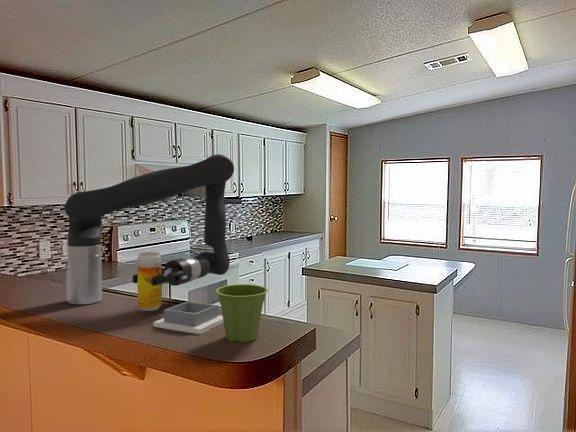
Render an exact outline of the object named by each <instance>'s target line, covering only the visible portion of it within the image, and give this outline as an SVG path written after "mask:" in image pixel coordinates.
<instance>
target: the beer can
mask: <svg viewBox="0 0 576 432" xmlns="http://www.w3.org/2000/svg"><path fill="white" fill-rule="evenodd" d="M161 267H162V255H161V253H160V252H157V251H145V252H144V251H143V252H139V253H138V255H137V274H138V283H137V308H138V309H139V310H140V311H145V312H147V311H155V310H158V309H159V308H160V307H161V305H162V284H159V285H156V286H152V285H151V279H152V277H156V276H160V275H161Z"/></svg>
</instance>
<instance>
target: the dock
mask: <svg viewBox="0 0 576 432" xmlns="http://www.w3.org/2000/svg"><path fill="white" fill-rule="evenodd" d="M222 323H223V324H224V321H223V315H221V314H220V315H219V304H212V303H204V302H196V301H189V300H188V301H185V302H183V303H178V304H177V305H173V306H171V307H168V308H165V309H163V317H162V318H161V319H158V320H155V321H153V327H155V328H158V329H159V328H161V329H167V330H172V331H177V332H184V333H189V334H195V335H202V334H205V333H206V332H208V331H210V329H211V330H213V329H215V328H216V326H217V327H219V326H221V325H223V324H222ZM220 324H221V325H220ZM218 325H219V326H218ZM214 327H215V328H214ZM212 328H213V329H212Z"/></svg>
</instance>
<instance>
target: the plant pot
mask: <svg viewBox="0 0 576 432" xmlns="http://www.w3.org/2000/svg"><path fill="white" fill-rule="evenodd" d="M268 291H269V289H268V288H267V287H265V286H264V285H258V284H250V283H249V284H247V283H246V284H245V283H243V284H241V283H239V284H238V283H237V284H228V285H223V286H219V287H218V288H216V289H215V293H216V294H217V296H218V301H219V304H220V307H221V314H222V315H221V316H223V321H224V323H223V326H224V327H223V328H224V332H225V337H226V340H228V341H229V342H238V343H249V342H253V341H255V340H256V339H257V338H258V335H259V330H260V324H261V316H262V312H263V311H262V310H263V305H264V303H265V299H266V294H267V293H268Z"/></svg>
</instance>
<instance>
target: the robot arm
mask: <svg viewBox="0 0 576 432" xmlns="http://www.w3.org/2000/svg"><path fill="white" fill-rule="evenodd" d="M234 172H235V164H234V162H233V161H232V160H231V159H230V157H228V156H226V155H224V154H221V153H220V154H212V155H209V156H208V157H206V159H203V160H200V161H198V162H196V163H192V164H189V165H185V166H178V167H171V168H170V167H169V168H165V169H160V170H155V171H151V172H148V173H143V174H141V175H137V176H135V177H131V178H129V179H127V180H124V181H121V182H119V183H117V184H115V185H112V186H108V187H102V188H98V189H92V190H87V191H77V192H75V193H73V194H71V195H70V196H69V197H68V198H67V200H66V201H65V204H64V212H65V214H66V215H67V217H68V234H67V269H66V271H65V287H66V288H65V293H66V295H65V298H66V299H65V301H66V302H68V303H69V304H71V305H88V304H89V305H91V304H95V303H99V302H101V301H102V299H103V279H102V278H103V277H102V276H103V275H102V269H103V268H102V266H103V265H102V234H103V227H102V226H103V220H102V219H103V216H105V215H107V214H111V213H113V212H115V211H116V212H117V211H121V210H124V209H128V208H129V209H130V208H136V207H141V206H145V205H146V206H147V205H150V204H153V203H157V202H161V201H163V200H167V199H169V198H172V197H175V196H178V195H180V194H184V193H186V192H189V191H191V190H194V189H197V188H200V187H205V214H204V230H203V232H204V233H203V235H204V236H203V243H204V244H205V245H206V246H209V247H211V248H212V249H213V251H203V252H199V253H198V254H197V255H195V256H190V257H188V256H187V257H181V258H177V259H175V258H174V259H172V260H169V261H167V262H166V263H165V264H164V266H163V267H162V266H161V275H160V276H156V277H152V279H151V285H152V286H156V285H159V284H161V285H162V284H163V285H167V284H169V285H171V286H175V287H176V286H180V285H182V284H183V285H184V284H187V283H191V282H192V281H195V280H197V279H201V278H204V277H206V276H207V275H208V274H212V275H219V276H223V275H225V274H226V273H227V272H228V271H229V269H230V268H229V267H230V263H231V262H230V257H229V252H228V247H227V242H226V231H227V230H226V229H227V216H226V208H225V192H226V191H225V190H226V185H227V181H229V180H230V179H231V178H232V177H233V175H234ZM132 283H133V284H138V273H136V274H133V275H132Z"/></svg>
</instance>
